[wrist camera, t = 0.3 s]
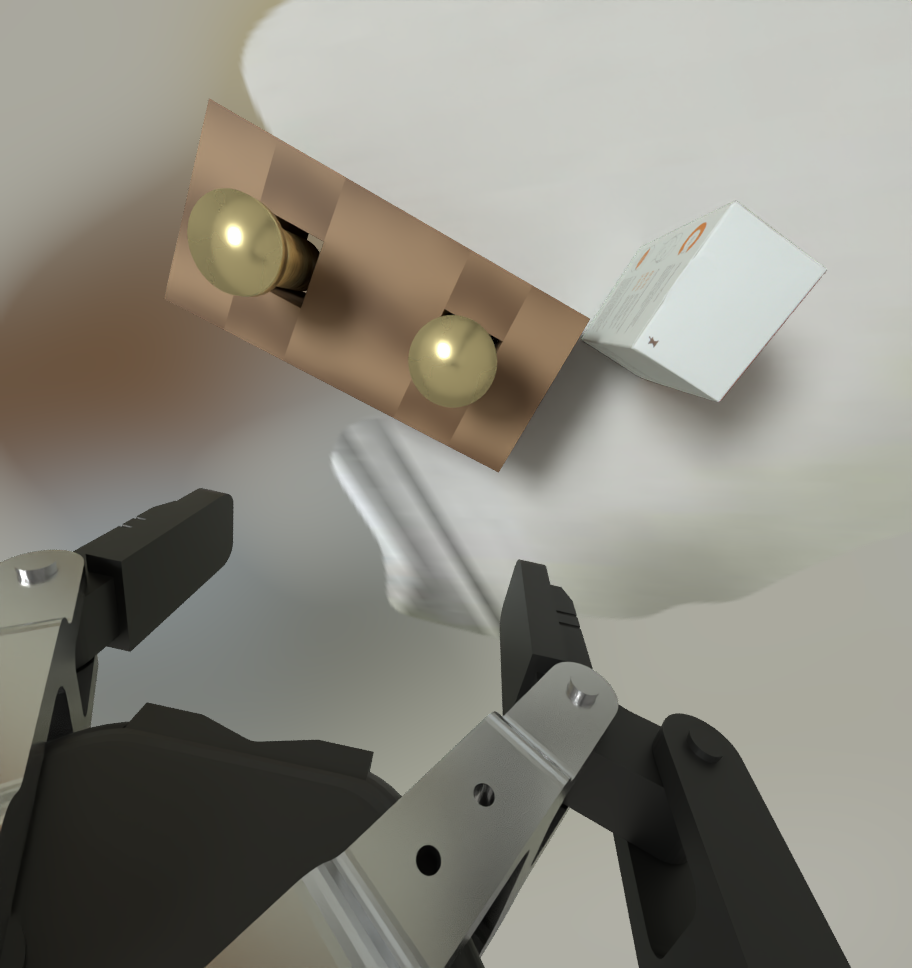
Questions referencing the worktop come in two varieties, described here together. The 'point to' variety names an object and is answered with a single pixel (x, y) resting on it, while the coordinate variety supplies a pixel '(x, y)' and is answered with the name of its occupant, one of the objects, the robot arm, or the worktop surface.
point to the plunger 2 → (452, 361)
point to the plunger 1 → (246, 246)
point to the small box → (703, 302)
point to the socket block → (373, 293)
